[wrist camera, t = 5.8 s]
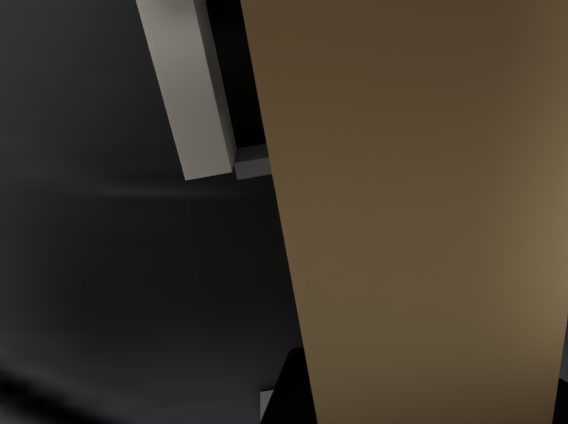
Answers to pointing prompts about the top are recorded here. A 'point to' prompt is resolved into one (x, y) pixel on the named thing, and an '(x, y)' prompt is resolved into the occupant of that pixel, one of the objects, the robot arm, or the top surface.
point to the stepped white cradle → (197, 96)
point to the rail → (421, 201)
